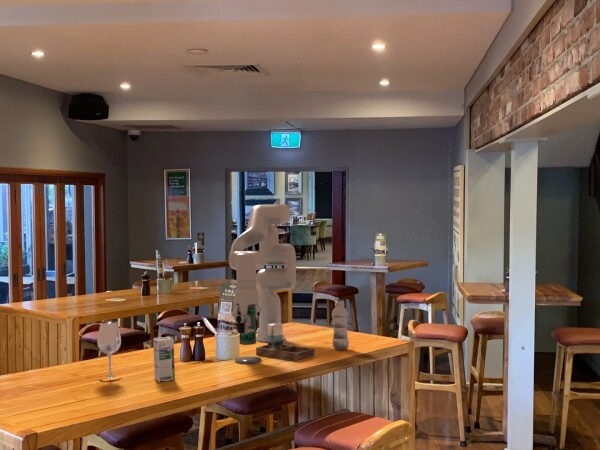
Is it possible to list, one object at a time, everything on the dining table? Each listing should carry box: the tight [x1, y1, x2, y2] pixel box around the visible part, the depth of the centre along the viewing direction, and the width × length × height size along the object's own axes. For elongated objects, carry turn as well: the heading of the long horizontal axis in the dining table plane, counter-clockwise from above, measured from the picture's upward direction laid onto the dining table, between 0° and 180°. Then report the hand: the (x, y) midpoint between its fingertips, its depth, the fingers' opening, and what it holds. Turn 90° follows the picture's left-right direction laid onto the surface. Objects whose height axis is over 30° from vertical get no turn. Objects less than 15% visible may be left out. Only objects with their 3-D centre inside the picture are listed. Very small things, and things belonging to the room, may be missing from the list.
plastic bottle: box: [331, 299, 350, 351], centre depth 277 cm, size 6×7×20 cm
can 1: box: [238, 304, 257, 346], centre depth 259 cm, size 6×6×15 cm
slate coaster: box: [234, 356, 262, 365], centre depth 260 cm, size 10×10×1 cm
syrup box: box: [152, 336, 176, 383], centre depth 234 cm, size 6×6×14 cm
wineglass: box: [97, 320, 122, 378], centre depth 237 cm, size 8×8×20 cm
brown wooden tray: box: [255, 343, 316, 363], centre depth 268 cm, size 21×11×3 cm, turn 52°
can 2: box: [267, 322, 284, 350], centre depth 271 cm, size 6×6×12 cm
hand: (247, 331), depth 260 cm, fingers closed on can 1, 6 cm apart
